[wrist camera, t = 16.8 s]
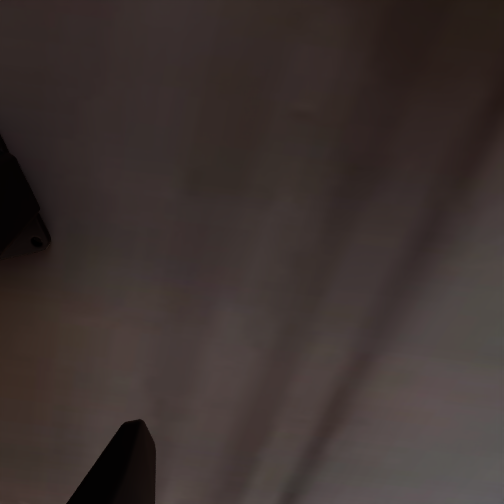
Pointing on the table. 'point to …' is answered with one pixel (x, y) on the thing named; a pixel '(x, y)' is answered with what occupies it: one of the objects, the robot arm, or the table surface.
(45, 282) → the table surface
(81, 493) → the robot arm
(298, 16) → the table surface
